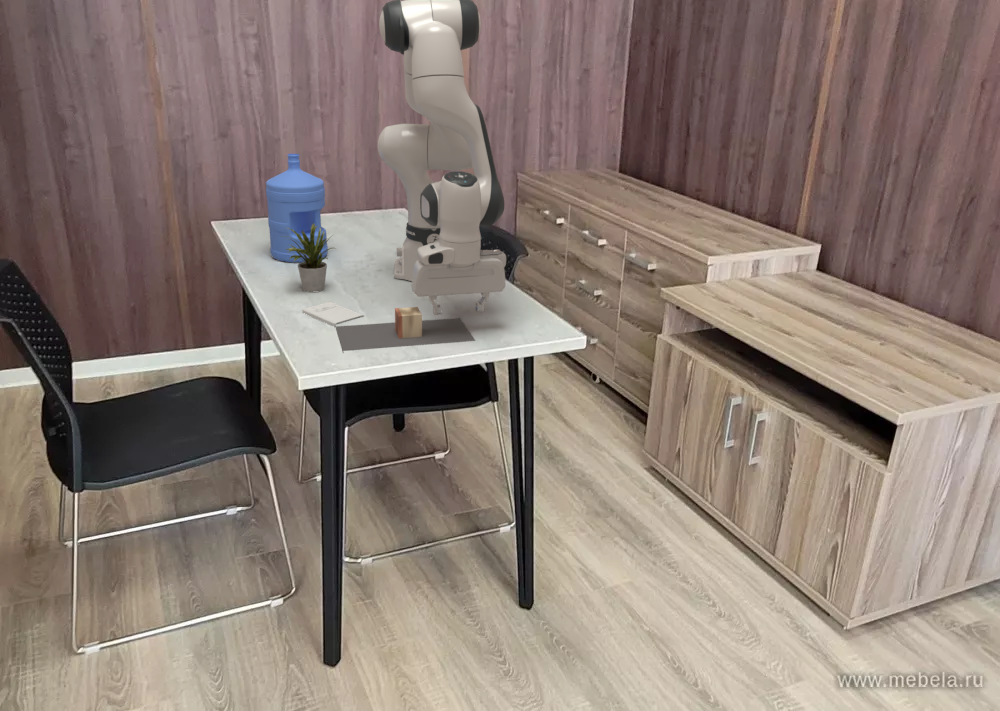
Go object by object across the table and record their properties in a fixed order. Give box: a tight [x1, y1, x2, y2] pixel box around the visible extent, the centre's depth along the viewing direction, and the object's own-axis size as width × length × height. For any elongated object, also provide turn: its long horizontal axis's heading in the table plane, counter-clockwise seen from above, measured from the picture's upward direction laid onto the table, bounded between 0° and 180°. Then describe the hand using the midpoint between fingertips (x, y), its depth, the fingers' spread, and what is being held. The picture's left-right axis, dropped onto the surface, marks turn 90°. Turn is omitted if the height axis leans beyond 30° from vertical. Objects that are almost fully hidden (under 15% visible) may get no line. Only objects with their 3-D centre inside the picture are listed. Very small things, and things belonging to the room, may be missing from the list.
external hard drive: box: [302, 301, 365, 328], centre depth 187 cm, size 2×8×12 cm
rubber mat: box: [335, 317, 476, 354], centre depth 177 cm, size 14×28×1 cm, turn 106°
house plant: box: [284, 223, 337, 293], centre depth 202 cm, size 14×14×16 cm
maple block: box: [394, 306, 423, 338], centre depth 176 cm, size 5×5×5 cm
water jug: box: [265, 153, 329, 263], centre depth 225 cm, size 16×16×28 cm
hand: (458, 312), depth 179 cm, fingers open, 8 cm apart
